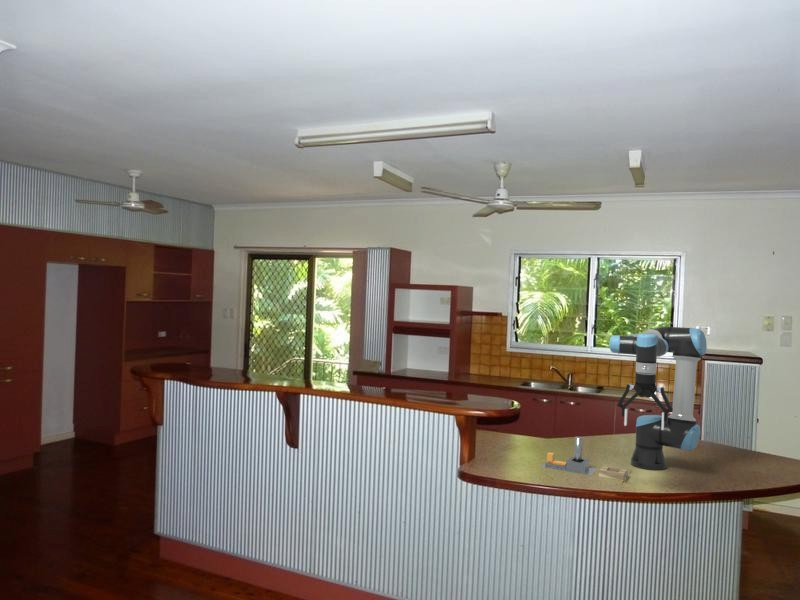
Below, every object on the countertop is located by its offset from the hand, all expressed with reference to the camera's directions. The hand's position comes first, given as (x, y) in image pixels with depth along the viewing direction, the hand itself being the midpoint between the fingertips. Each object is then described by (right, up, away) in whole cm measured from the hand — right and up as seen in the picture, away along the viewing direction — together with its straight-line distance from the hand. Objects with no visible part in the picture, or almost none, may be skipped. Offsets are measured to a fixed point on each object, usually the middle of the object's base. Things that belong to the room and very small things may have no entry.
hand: (643, 427), depth 242 cm
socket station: (-21, -25, +29) cm, 43 cm away
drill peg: (-18, -24, +27) cm, 41 cm away
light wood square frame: (-5, -26, +20) cm, 33 cm away
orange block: (-26, -24, +32) cm, 47 cm away
